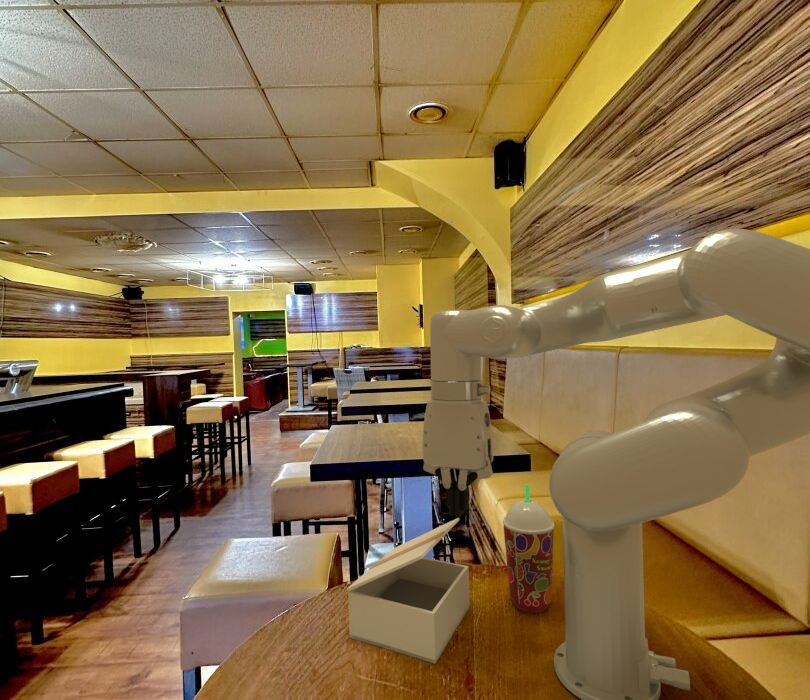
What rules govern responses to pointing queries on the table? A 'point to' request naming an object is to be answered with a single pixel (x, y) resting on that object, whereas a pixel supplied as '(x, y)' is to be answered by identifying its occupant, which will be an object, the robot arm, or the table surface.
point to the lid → (404, 554)
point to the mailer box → (411, 608)
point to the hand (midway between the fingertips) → (457, 513)
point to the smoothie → (529, 554)
